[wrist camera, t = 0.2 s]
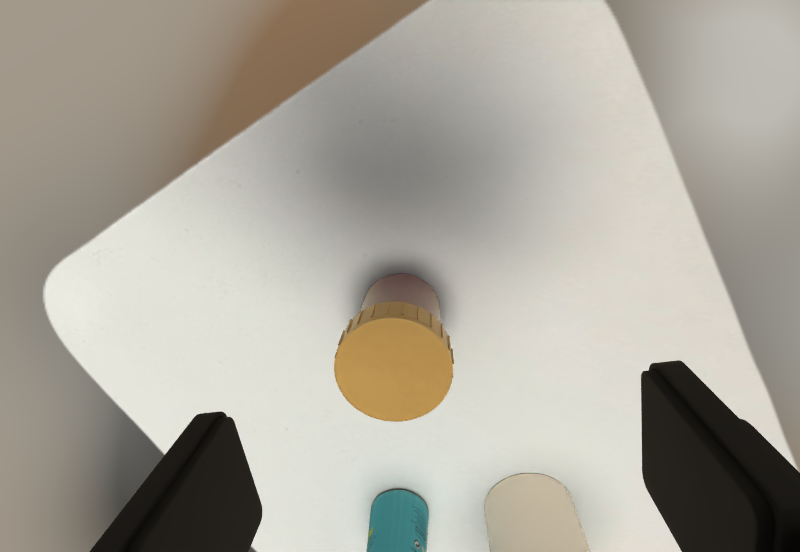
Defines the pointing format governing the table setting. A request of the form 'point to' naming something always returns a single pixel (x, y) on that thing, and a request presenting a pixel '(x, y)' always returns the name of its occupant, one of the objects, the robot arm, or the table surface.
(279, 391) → the table surface
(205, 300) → the table surface
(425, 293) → the cream jar
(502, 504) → the cylindrical container
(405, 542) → the tube
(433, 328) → the jar lid
